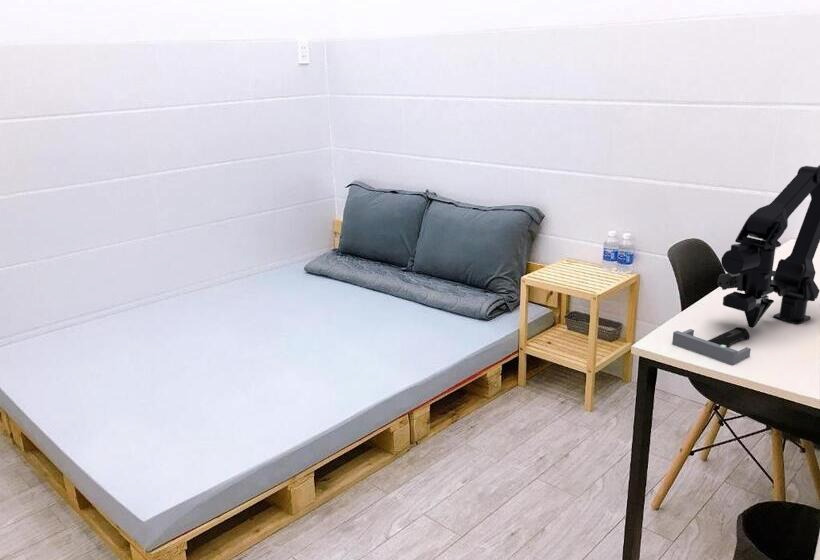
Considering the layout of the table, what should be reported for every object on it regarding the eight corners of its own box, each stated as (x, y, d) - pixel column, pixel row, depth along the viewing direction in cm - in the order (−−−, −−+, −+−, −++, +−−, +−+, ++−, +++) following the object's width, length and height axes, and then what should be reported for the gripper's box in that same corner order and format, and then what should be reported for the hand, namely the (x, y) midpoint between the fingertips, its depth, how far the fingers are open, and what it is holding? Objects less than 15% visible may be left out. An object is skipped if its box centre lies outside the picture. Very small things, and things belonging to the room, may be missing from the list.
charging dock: (689, 336, 165) (690, 323, 163) (749, 356, 153) (751, 342, 152) (672, 343, 161) (673, 330, 160) (732, 365, 149) (734, 351, 148)
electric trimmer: (696, 351, 158) (697, 338, 157) (736, 334, 165) (737, 322, 164) (711, 357, 155) (712, 344, 153) (751, 339, 162) (752, 327, 161)
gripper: (747, 251, 172) (740, 309, 177) (705, 267, 162) (699, 327, 167) (792, 261, 164) (783, 321, 169) (750, 278, 154) (742, 341, 159)
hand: (751, 327), depth 166 cm, fingers closed
